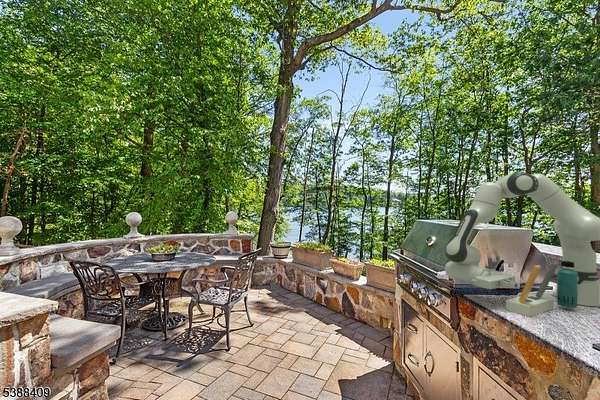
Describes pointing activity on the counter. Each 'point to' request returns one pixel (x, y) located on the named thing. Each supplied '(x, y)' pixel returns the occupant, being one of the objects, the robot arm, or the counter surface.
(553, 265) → the bar
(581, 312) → the counter surface
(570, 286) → the beverage bottle
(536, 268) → the orange bar
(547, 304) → the cream base with pads
